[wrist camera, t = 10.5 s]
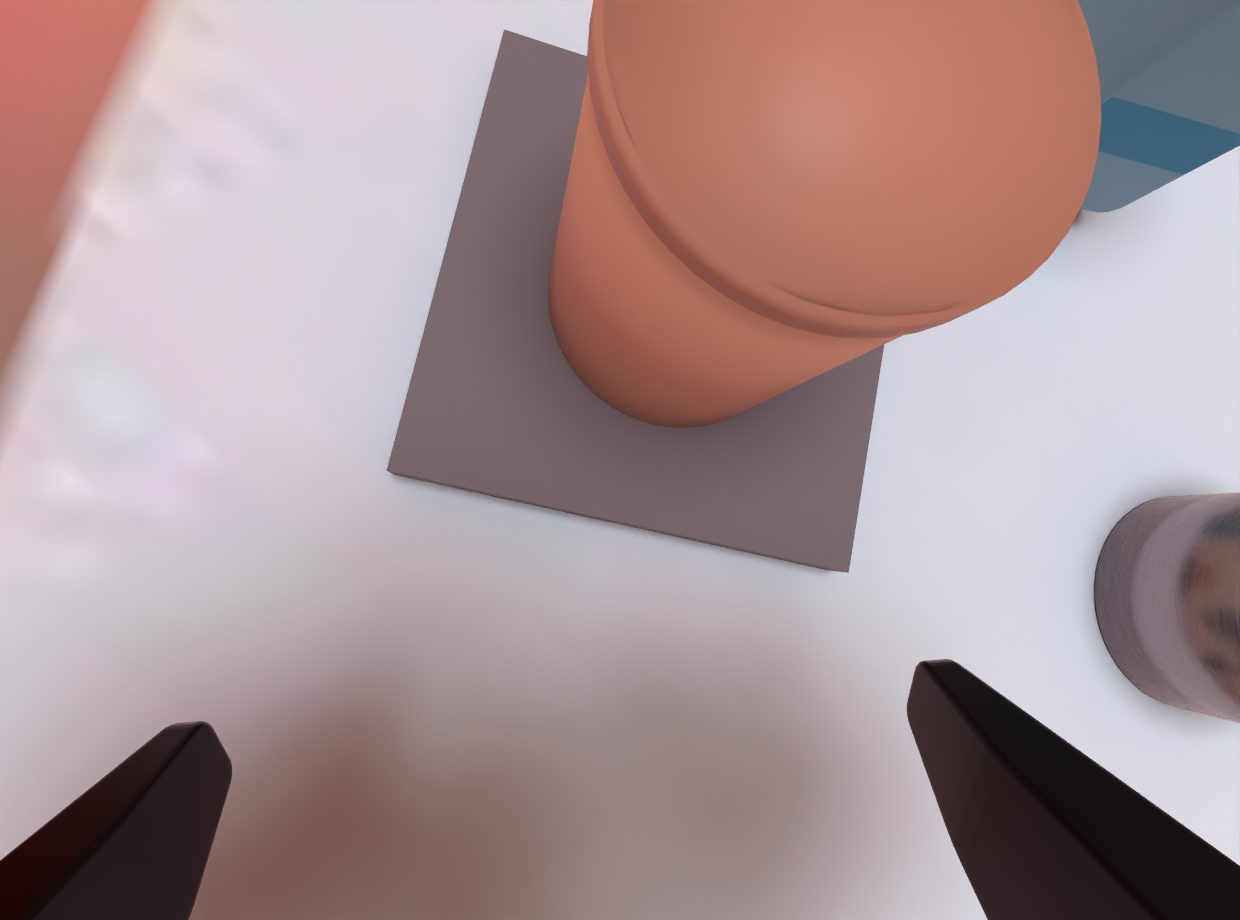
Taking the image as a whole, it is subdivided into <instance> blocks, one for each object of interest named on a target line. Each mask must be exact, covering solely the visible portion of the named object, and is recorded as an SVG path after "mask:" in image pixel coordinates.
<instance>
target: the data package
mask: <svg viewBox="0 0 1240 920" xmlns="http://www.w3.org/2000/svg"><path fill="white" fill-rule="evenodd" d="M1078 2H1079V5H1080V8H1081V10H1082V13H1083V15H1084V18H1085V20H1086V23H1087V26H1088V30H1089V33H1090V37H1091V41H1092V45H1093V48H1094V52H1095V56H1096V63H1097V69H1098V76H1099V83H1100V95H1101V127H1100V138H1099V149H1098V154H1097V158H1096V163H1095V167H1094V172H1093V176H1092V180H1091V183H1090V185H1089V188H1088V191H1087V194H1086V196H1085V199H1084V202H1083V204H1082V207H1081V209H1085V210H1089V211H1093V212H1108V211H1113V210H1116V209H1119V208H1121V207H1123V206H1126V205H1128V204H1130V203H1131V202H1133V201H1135V200H1137V199H1139V198H1141V197H1143V196H1145V195H1147V194H1148V193H1150V192H1152V191H1154V190H1156V189H1158V188H1160V187H1162V186H1164V185H1166V184H1167V183H1169V182H1171V181H1173V180H1175V179H1177V178H1179V177H1181V176H1183V175H1184V174H1186V173H1188V172H1190V171H1192V170H1194V169H1196V168H1198V167H1200V166H1202V165H1203V164H1205V163H1207V162H1209V161H1211V160H1213V159H1215V158H1217V157H1219V156H1220V155H1222V154H1224V153H1226V152H1228V151H1230V150H1232V149H1234V148H1236V147H1238V146H1239V145H1240V0H1078Z"/></svg>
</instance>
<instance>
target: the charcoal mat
mask: <svg viewBox="0 0 1240 920" xmlns="http://www.w3.org/2000/svg"><path fill="white" fill-rule="evenodd" d="M587 77H588V60H587V56H584V55H581V54H578V53H575V52H571V51H568V50H565V49H562V48H559V47H556V46H553V45H550V44H547V43H544V42H541V41H538V40H535V39H532V38H529V37H525V36H522V35H519V34H516V33H513V32H510V31H507V30H504V32H503V36H502V40H501V44H500V47H499V51H498V55H497V59H496V62H495V66H494V70H493V74H492V77H491V81H490V85H489V89H488V92H487V96H486V100H485V104H484V108H483V111H482V115H481V119H480V123H479V126H478V130H477V134H476V138H475V141H474V145H473V149H472V153H471V156H470V160H469V164H468V168H467V171H466V175H465V179H464V183H463V186H462V190H461V194H460V198H459V201H458V205H457V209H456V213H455V216H454V220H453V224H452V228H451V231H450V235H449V239H448V243H447V246H446V250H445V254H444V258H443V262H442V265H441V269H440V273H439V277H438V280H437V284H436V288H435V292H434V295H433V299H432V303H431V307H430V310H429V314H428V318H427V322H426V325H425V329H424V333H423V337H422V340H421V344H420V348H419V352H418V355H417V359H416V363H415V367H414V370H413V374H412V378H411V382H410V385H409V389H408V393H407V397H406V400H405V404H404V408H403V412H402V416H401V419H400V423H399V427H398V431H397V434H396V438H395V442H394V446H393V449H392V453H391V457H390V461H389V464H388V468H387V471H389V472H391V473H393V474H396V475H400V476H405V477H409V478H414V479H418V480H423V481H427V482H432V483H437V484H441V485H446V486H450V487H455V488H459V489H464V490H468V491H473V492H477V493H482V494H486V495H491V496H496V497H500V498H505V499H509V500H514V501H518V502H523V503H527V504H532V505H536V506H541V507H545V508H550V509H554V510H559V511H564V512H568V513H573V514H577V515H582V516H586V517H591V518H595V519H600V520H604V521H609V522H613V523H618V524H623V525H627V526H632V527H636V528H641V529H645V530H650V531H654V532H659V533H663V534H668V535H672V536H677V537H681V538H686V539H691V540H695V541H700V542H704V543H709V544H713V545H718V546H722V547H727V548H731V549H736V550H740V551H745V552H750V553H754V554H759V555H763V556H768V557H772V558H777V559H781V560H786V561H790V562H795V563H799V564H804V565H808V566H813V567H818V568H822V569H827V570H832V571H841V572H849V566H850V560H851V553H852V547H853V540H854V534H855V528H856V521H857V515H858V508H859V502H860V496H861V489H862V483H863V476H864V470H865V463H866V457H867V451H868V444H869V438H870V431H871V425H872V419H873V412H874V406H875V399H876V393H877V386H878V380H879V374H880V367H881V361H882V354H883V348H884V344H883V345H881V346H879V347H877V348H875V349H873V350H871V351H869V352H867V353H865V354H862V355H860V356H858V357H856V358H854V359H852V360H850V361H848V362H846V363H844V364H841V365H839V366H837V367H835V368H833V369H831V370H829V371H827V372H825V373H823V374H821V375H818V376H816V377H814V378H812V379H810V380H808V381H806V382H804V383H802V384H800V385H798V386H795V387H793V388H791V389H789V390H787V391H785V392H783V393H781V394H779V395H777V396H774V397H772V398H770V399H768V400H766V401H764V402H762V403H760V404H758V405H756V406H754V407H751V408H749V409H747V410H745V411H743V412H741V413H739V414H737V415H735V416H733V417H730V418H728V419H726V420H723V421H720V422H717V423H714V424H709V425H704V426H698V427H684V428H678V427H666V426H660V425H655V424H651V423H646V422H644V421H641V420H638V419H635V418H633V417H630V416H628V415H626V414H624V413H622V412H620V411H618V410H616V409H615V408H613V407H612V406H610V405H609V404H607V403H606V402H604V401H603V400H602V399H600V398H599V397H598V396H597V395H596V394H595V393H593V392H592V391H591V390H590V389H589V388H588V387H587V386H586V385H585V384H584V383H583V381H582V380H581V379H580V378H579V377H578V376H577V375H576V373H575V372H574V370H573V369H572V367H571V366H570V364H569V363H568V361H567V360H566V358H565V356H564V354H563V352H562V350H561V348H560V346H559V344H558V341H557V338H556V335H555V332H554V329H553V326H552V321H551V317H550V312H549V300H548V286H549V275H550V269H551V264H552V259H553V254H554V248H555V243H556V238H557V233H558V228H559V222H560V217H561V212H562V207H563V202H564V196H565V191H566V186H567V181H568V176H569V170H570V165H571V160H572V155H573V149H574V144H575V139H576V134H577V129H578V123H579V118H580V113H581V108H582V103H583V97H584V92H585V87H586V82H587Z"/></svg>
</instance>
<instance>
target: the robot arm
mask: <svg viewBox="0 0 1240 920" xmlns="http://www.w3.org/2000/svg"><path fill="white" fill-rule="evenodd" d="M907 716H908V721H909V724H910V727H911V730H912V733H913V735H914V738H915V741H916V744H917V747H918V749H919V752H920V755H921V758H922V761H923V764H924V766H925V769H926V772H927V775H928V778H929V780H930V783H931V786H932V789H933V792H934V794H935V797H936V800H937V803H938V806H939V808H940V811H941V814H942V817H943V820H944V822H945V825H946V828H947V830H948V833H949V836H950V838H951V841H952V843H953V846H954V848H955V850H956V853H957V855H958V857H959V859H960V862H961V864H962V866H963V868H964V870H965V872H966V874H967V877H968V879H969V881H970V883H971V885H972V887H973V889H974V891H975V894H976V896H977V898H978V900H979V902H980V904H981V906H982V908H983V911H984V913H985V915H986V917H987V919H988V920H1240V866H1239V865H1238V864H1236V863H1235V862H1234V861H1232V860H1231V859H1230V858H1228V857H1227V856H1225V855H1224V854H1223V853H1221V852H1220V851H1218V850H1217V849H1216V848H1214V847H1213V846H1211V845H1210V844H1209V843H1207V842H1206V841H1204V840H1203V839H1202V838H1200V837H1199V836H1198V835H1196V834H1195V833H1193V832H1192V831H1191V830H1189V829H1188V828H1186V827H1185V826H1184V825H1182V824H1181V823H1179V822H1178V821H1177V820H1175V819H1174V818H1172V817H1171V816H1170V815H1168V814H1167V813H1166V812H1164V811H1163V810H1161V809H1160V808H1159V807H1157V806H1156V805H1154V804H1153V803H1152V802H1150V801H1149V800H1147V799H1146V798H1145V797H1143V796H1142V795H1140V794H1139V793H1138V792H1136V791H1135V790H1134V789H1132V788H1131V787H1129V786H1128V785H1127V784H1125V783H1124V782H1122V781H1121V780H1120V779H1118V778H1117V777H1115V776H1114V775H1113V774H1111V773H1110V772H1108V771H1107V770H1106V769H1104V768H1103V767H1102V766H1100V765H1099V764H1097V763H1096V762H1095V761H1093V760H1092V759H1090V758H1089V757H1088V756H1086V755H1085V754H1083V753H1082V752H1081V751H1079V750H1078V749H1076V748H1075V747H1074V746H1072V745H1071V744H1070V743H1068V742H1067V741H1065V740H1064V739H1063V738H1061V737H1060V736H1058V735H1057V734H1056V733H1054V732H1053V731H1051V730H1050V729H1049V728H1047V727H1046V726H1044V725H1043V724H1042V723H1040V722H1039V721H1038V720H1036V719H1035V718H1033V717H1032V716H1031V715H1029V714H1028V713H1026V712H1025V711H1024V710H1022V709H1021V708H1019V707H1018V706H1017V705H1015V704H1014V703H1012V702H1011V701H1010V700H1008V699H1007V698H1006V697H1004V696H1003V695H1001V694H1000V693H999V692H997V691H996V690H994V689H993V688H992V687H990V686H989V685H987V684H986V683H985V682H983V681H982V680H980V679H979V678H978V677H976V676H975V675H974V674H972V673H971V672H969V671H968V670H967V669H965V668H964V667H962V666H961V665H960V664H958V663H956V662H954V661H952V660H949V659H942V660H930V661H922V662H920V663H919V664H918V665H917V666H916V669H915V672H914V676H913V681H912V685H911V689H910V693H909V698H908V702H907ZM231 778H232V765H231V761H230V759H229V757H228V755H227V753H226V751H225V749H224V748H223V746H222V744H221V742H220V740H219V738H218V737H217V735H216V733H215V731H214V729H213V728H212V726H211V725H210V724H208V723H207V722H204V721H197V722H184V723H176V724H172V725H170V726H168V727H166V728H165V729H163V730H162V731H161V732H160V733H158V734H157V735H156V736H155V737H153V738H152V739H151V740H150V741H148V742H147V743H146V744H145V745H143V746H142V747H141V748H140V749H138V750H137V751H136V752H135V753H133V754H132V755H131V756H130V757H128V758H127V759H126V760H125V761H123V762H122V763H121V764H120V765H118V766H117V767H116V768H115V769H113V770H112V771H111V772H110V773H109V774H107V775H106V776H105V777H104V778H102V779H101V780H100V781H99V782H97V783H96V784H95V785H94V786H92V787H91V788H90V789H89V790H87V791H86V792H85V793H84V794H82V795H81V796H80V797H79V798H77V799H76V800H75V801H74V802H72V803H71V804H70V805H69V806H67V807H66V808H65V809H64V810H62V811H61V812H60V813H59V814H57V815H56V816H55V817H54V818H53V819H51V820H50V821H49V822H48V823H46V824H45V825H44V826H43V827H41V828H40V829H39V830H38V831H36V832H35V833H34V834H33V835H31V836H30V837H29V838H28V839H26V840H25V841H24V842H23V843H21V844H20V845H19V846H18V847H16V848H15V849H14V850H13V851H11V852H10V853H9V854H8V855H6V856H5V857H4V858H3V859H2V860H0V920H188V919H189V917H190V914H191V911H192V908H193V905H194V902H195V899H196V896H197V893H198V890H199V887H200V884H201V880H202V877H203V874H204V870H205V867H206V863H207V860H208V857H209V853H210V850H211V847H212V843H213V840H214V837H215V833H216V830H217V827H218V823H219V820H220V817H221V813H222V810H223V807H224V803H225V800H226V797H227V793H228V790H229V786H230V783H231Z"/></svg>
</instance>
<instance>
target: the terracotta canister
mask: <svg viewBox="0 0 1240 920" xmlns="http://www.w3.org/2000/svg"><path fill="white" fill-rule="evenodd" d="M587 60H588V77H587V82H586V87H585V92H584V97H583V103H582V108H581V113H580V118H579V123H578V129H577V134H576V139H575V144H574V149H573V155H572V160H571V165H570V170H569V176H568V181H567V186H566V191H565V196H564V202H563V207H562V212H561V217H560V222H559V228H558V233H557V238H556V243H555V248H554V254H553V259H552V264H551V269H550V275H549V286H548V300H549V312H550V317H551V321H552V326H553V329H554V332H555V335H556V338H557V341H558V344H559V346H560V348H561V350H562V352H563V354H564V356H565V358H566V360H567V361H568V363H569V364H570V366H571V367H572V369H573V370H574V372H575V373H576V375H577V376H578V377H579V378H580V379H581V380H582V381H583V383H584V384H585V385H586V386H587V387H588V388H589V389H590V390H591V391H592V392H593V393H595V394H596V395H597V396H598V397H599V398H600V399H602V400H603V401H604V402H606V403H607V404H609V405H610V406H612V407H613V408H615V409H616V410H618V411H620V412H622V413H624V414H626V415H628V416H630V417H633V418H635V419H638V420H641V421H644V422H646V423H651V424H655V425H660V426H666V427H678V428H684V427H698V426H704V425H709V424H714V423H717V422H720V421H723V420H726V419H728V418H730V417H733V416H735V415H737V414H739V413H741V412H743V411H745V410H747V409H749V408H751V407H754V406H756V405H758V404H760V403H762V402H764V401H766V400H768V399H770V398H772V397H774V396H777V395H779V394H781V393H783V392H785V391H787V390H789V389H791V388H793V387H795V386H798V385H800V384H802V383H804V382H806V381H808V380H810V379H812V378H814V377H816V376H818V375H821V374H823V373H825V372H827V371H829V370H831V369H833V368H835V367H837V366H839V365H841V364H844V363H846V362H848V361H850V360H852V359H854V358H856V357H858V356H860V355H862V354H865V353H867V352H869V351H871V350H873V349H875V348H877V347H879V346H881V345H883V344H885V343H888V342H890V341H892V340H894V339H896V338H898V337H900V336H902V335H906V334H912V333H917V332H920V331H923V330H926V329H929V328H932V327H935V326H938V325H941V324H945V323H947V322H949V321H951V320H953V319H955V318H958V317H960V316H962V315H964V314H966V313H969V312H971V311H973V310H975V309H977V308H979V307H981V306H983V305H985V304H987V303H989V302H991V301H993V300H995V299H997V298H999V297H1001V296H1003V295H1005V294H1006V293H1007V292H1009V291H1010V290H1012V289H1013V288H1014V287H1016V286H1017V285H1019V284H1020V283H1021V282H1023V281H1024V280H1026V279H1027V278H1028V277H1029V276H1030V275H1031V274H1032V273H1034V272H1035V271H1036V270H1037V269H1038V268H1039V267H1040V266H1041V265H1042V264H1043V263H1044V262H1045V261H1046V260H1047V259H1048V258H1049V257H1050V256H1051V254H1052V253H1053V252H1054V250H1055V249H1056V248H1057V246H1058V245H1059V244H1060V242H1061V241H1062V240H1063V238H1064V237H1065V236H1066V234H1067V233H1068V231H1069V229H1070V227H1071V225H1072V224H1073V222H1074V220H1075V218H1076V216H1077V214H1078V213H1079V211H1080V209H1081V207H1082V204H1083V202H1084V199H1085V196H1086V194H1087V191H1088V188H1089V185H1090V183H1091V180H1092V176H1093V172H1094V167H1095V163H1096V158H1097V154H1098V149H1099V138H1100V127H1101V95H1100V83H1099V76H1098V69H1097V63H1096V56H1095V52H1094V48H1093V45H1092V41H1091V37H1090V33H1089V30H1088V26H1087V23H1086V20H1085V18H1084V15H1083V13H1082V10H1081V8H1080V5H1079V2H1078V0H594V1H593V7H592V13H591V18H590V24H589V39H588V55H587Z"/></svg>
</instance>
